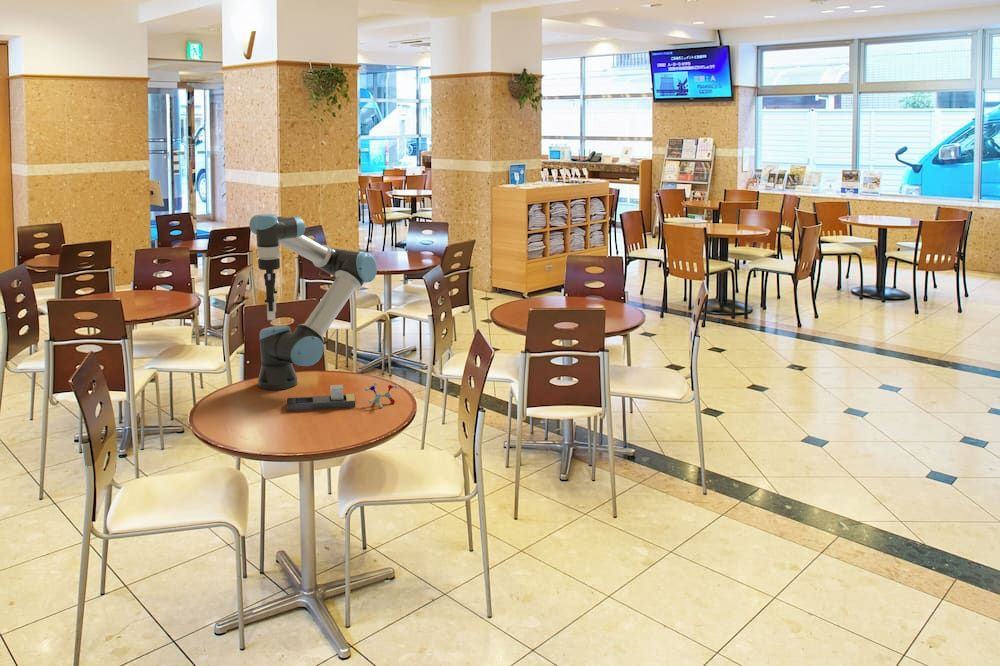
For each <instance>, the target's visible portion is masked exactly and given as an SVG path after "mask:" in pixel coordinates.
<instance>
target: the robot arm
mask: <svg viewBox="0 0 1000 666" xmlns="http://www.w3.org/2000/svg"><path fill="white" fill-rule="evenodd" d="M304 221H305V220H304V219H303V218H301V217H300V216H290V217H285V216H278V215H277V214H274V213H265V214H261V213H260V214H256V215H253V216H252V217H251V218H250V221H249V223H248V224H249V227H248V228H249V229H250V231H251V233H253V235H256V236H255V237H256V244H257V245H256V247H257V248H255V252H257V257H258V260H257V265H258V269H259V270H261V271H265V273H264V274H263V279H264V286H265V295H266V299H264V303H266V316H267V317H266V318H267V321H276V312H277V297H276V295H277V294H278V291H277V290H276V277H277V276H276V275H277V274H276V272H274V270H279V269H280V268H281V261H280V258H279V257H280V245H281V246H282V247H284V248H286V249H288V250H290V251H292V252H293V253H296V254H297V255H299V256H301V257H302V258H305V259H307V260H309V261H310V262H312V264H313V265H314V267H316V268H318V269H320V270H322V271H324V272H325V273H327V274H329V275H331V276H333V277H335V279H334V281H333V282H332V283H331V284H330V286H329V287H328V289H327V290H326V292H325V293H324V295H323V296H322V298H321V299H320V300H319V302H318V304H317V305H316V306H315V308H314V309H313V311H311V313H310V315H309V316H308V318H307V319H306V320H305V322H304V323H300V324H298V325H297V326H296V328H294V331H292V330H291V327H290V326H289V325H275V326H269V327H265V328H262V329H261V330H259V351H260V352H259V353H260V362H261V365H260V366H261V367H260V371H259V375H258V378H257V387H258V388H260V389H263V390H267V391H268V390H269V391H270V390H271V391H277V390H286V389H290V388H293V387H295V386H297V385H298V376H297V373H296V371H295V369H294V366H293V364H294V365H296V366H300V367H301V366H302V367H311V366H313V365H316V363H318V362H319V361H320V360H321V358H322V356H323V354H324V342H325V339H324V335H326V333H327V331H328V330H329V328H330V327H331V325H332V324H333V322H334V321H335V320H336V318H337V316H338V315H339V313H340V312H341V311H342V309H343V307H344V306H345V305H346V303H347V302H348V300H349V299H350V297H351V296H352V294H353V293H354V292H355V291H358V290H360V289H361V288H362V286H363V285H364V284H365V283H366V284H367V283H371V282H373V281H374V280H375V278H376V276H377V271H378V267H377V266H378V265H377V261H376V259H375V257H374V256H373V255H372V254H371V253H369V252H368V253H367V252H364V251H356V250H348V249H341V248H340V249H339V248H335V247H331V246H329V245H328V244H320V243H319V242H318V241H315V240H313V239H312V238H310V237H308V236H307V235H304V234H305V232H306V223H305V222H304Z"/></svg>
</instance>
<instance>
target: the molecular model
mask: <svg viewBox="0 0 1000 666" xmlns="http://www.w3.org/2000/svg"><path fill="white" fill-rule="evenodd" d="M376 386H378V382H377V381H375V382H373V385H371V386H370V387H365V388H364V391H365V392H367V391H369V390H370V391H371V392H372V391H373V393H374V395H375V397H374V399H369V400H367V401H368V403H369V404H372V403H373V404H378V407H379V409H382V408H383V405H382V404H381V403H380V398H383V397H385V398H387V399H388V400H389V401H390V403H391V404H395V403H396V400H395V399H394V398H393V397H392V396H391V394H390V392H391V391H390V390H392V389H399V386H398V385H397V384H396V385H392V384H389V385H388V386H387V388H388V391H387V392H385V394H382V393H377V392H376Z"/></svg>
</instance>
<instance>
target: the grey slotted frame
mask: <svg viewBox="0 0 1000 666" xmlns="http://www.w3.org/2000/svg"><path fill="white" fill-rule="evenodd" d="M343 396H344V401H331V394H329V395H319V396H318V395H317V396H316V395H315V396H302V397H301V396H300V397H287V400H286V401H287V403H286V407H287V408H286V409H287V410H286V411H287V412H289V413H291V412H301V411H304V412H305V411H315V410H317V411H320V410H333V409H350V408H356V398H355V393H345V394H343Z"/></svg>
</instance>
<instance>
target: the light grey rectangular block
mask: <svg viewBox="0 0 1000 666" xmlns="http://www.w3.org/2000/svg"><path fill="white" fill-rule="evenodd" d="M329 386H330V388H329V389H330V395H331V401H344V396H343V395H344V384H332V385H329Z"/></svg>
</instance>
